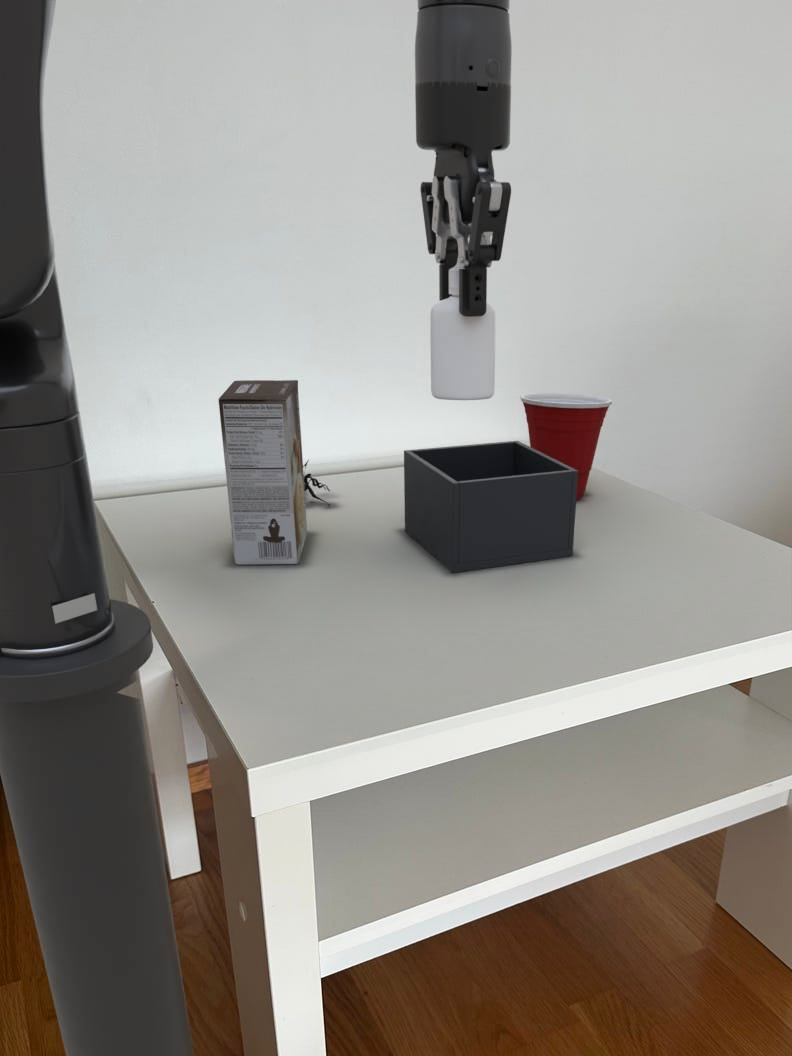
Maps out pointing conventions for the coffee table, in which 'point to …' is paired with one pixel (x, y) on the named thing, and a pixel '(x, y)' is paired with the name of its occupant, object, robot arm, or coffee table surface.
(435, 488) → the bin
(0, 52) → the robot arm
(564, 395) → the plastic cup
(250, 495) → the coffee box
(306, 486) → the creature
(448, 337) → the eye dropper bottle
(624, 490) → the coffee table surface
